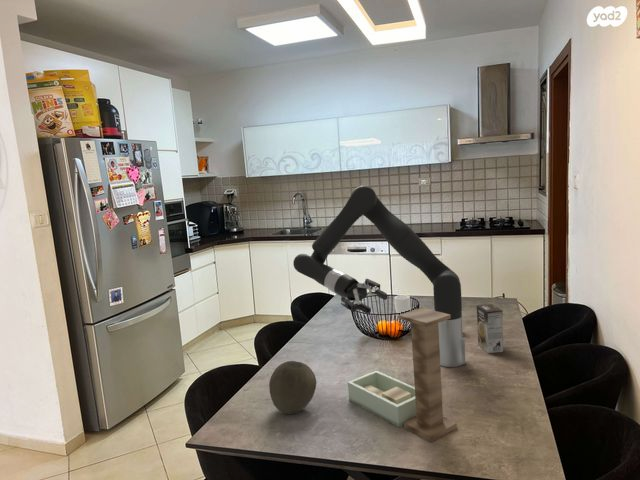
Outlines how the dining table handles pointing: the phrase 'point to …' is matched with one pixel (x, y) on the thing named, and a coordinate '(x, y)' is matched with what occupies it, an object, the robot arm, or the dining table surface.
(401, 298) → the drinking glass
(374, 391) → the peg
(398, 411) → the open box
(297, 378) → the cantaloupe
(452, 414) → the dining table surface
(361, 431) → the dining table surface
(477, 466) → the dining table surface
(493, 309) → the coffee box
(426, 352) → the shelf stand
